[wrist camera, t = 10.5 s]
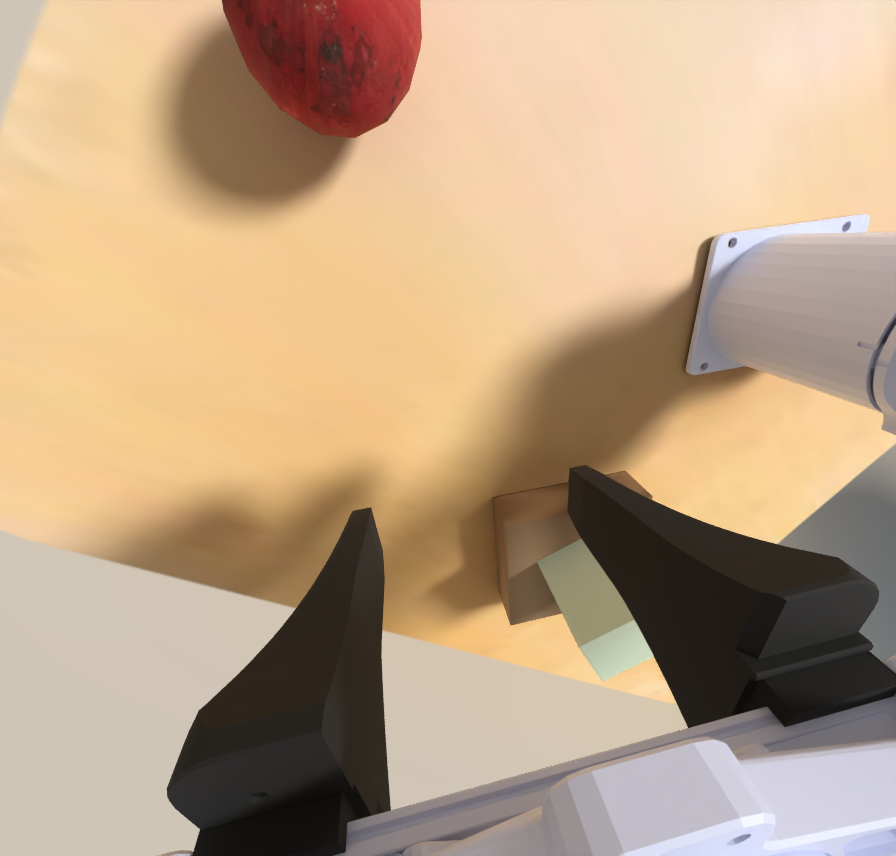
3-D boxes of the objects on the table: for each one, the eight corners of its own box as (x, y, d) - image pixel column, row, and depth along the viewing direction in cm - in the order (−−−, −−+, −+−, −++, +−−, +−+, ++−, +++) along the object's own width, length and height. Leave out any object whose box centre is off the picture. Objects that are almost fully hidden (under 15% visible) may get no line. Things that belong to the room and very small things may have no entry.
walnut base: (625, 471, 27) (652, 496, 24) (612, 566, 31) (633, 596, 29) (492, 497, 26) (505, 526, 23) (499, 592, 31) (510, 625, 28)
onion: (412, 159, 16) (438, 100, 9) (275, 151, 15) (188, 77, 8) (410, -32, 14) (443, -317, 7) (243, -57, 13) (78, -417, 6)
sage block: (595, 530, 25) (654, 609, 19) (613, 568, 27) (671, 648, 22) (536, 561, 25) (578, 647, 20) (559, 596, 27) (602, 681, 22)
